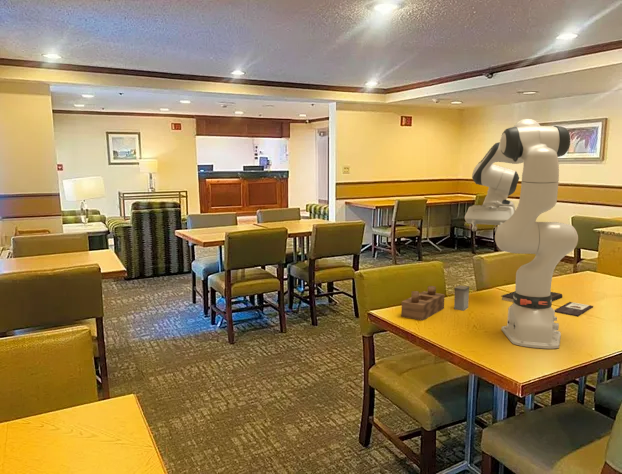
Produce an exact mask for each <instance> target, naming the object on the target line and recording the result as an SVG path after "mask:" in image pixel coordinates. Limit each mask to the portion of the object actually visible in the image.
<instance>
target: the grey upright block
mask: <svg viewBox="0 0 622 474" xmlns="http://www.w3.org/2000/svg"><path fill="white" fill-rule="evenodd" d="M469 293H470V286H466V285H460V284H459V285H457V286H455V287H454V299H453V300H454V303H453V304H454V305H453V306H454V307H453V309H454V310H457V311H458V310H459V311H463V312H464V311H466V310H467V309H469V297H470V296H469Z"/></svg>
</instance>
